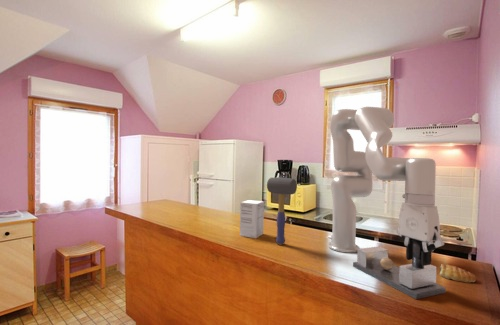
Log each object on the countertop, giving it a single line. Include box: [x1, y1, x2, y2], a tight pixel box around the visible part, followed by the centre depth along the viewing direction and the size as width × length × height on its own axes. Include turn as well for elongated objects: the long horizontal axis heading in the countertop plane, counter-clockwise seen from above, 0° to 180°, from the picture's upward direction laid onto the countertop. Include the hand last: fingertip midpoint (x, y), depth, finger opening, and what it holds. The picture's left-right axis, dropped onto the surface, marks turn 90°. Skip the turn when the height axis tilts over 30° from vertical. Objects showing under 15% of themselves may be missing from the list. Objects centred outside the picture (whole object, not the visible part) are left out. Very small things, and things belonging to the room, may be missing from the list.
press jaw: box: [399, 239, 437, 289], centre depth 78 cm, size 4×10×13 cm, turn 111°
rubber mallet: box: [266, 176, 298, 246], centre depth 119 cm, size 12×8×30 cm, turn 56°
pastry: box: [439, 263, 476, 283], centre depth 87 cm, size 9×7×4 cm
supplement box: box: [239, 199, 265, 239], centre depth 134 cm, size 10×9×17 cm
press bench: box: [352, 246, 447, 300], centre depth 86 cm, size 24×12×6 cm, turn 21°
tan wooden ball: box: [380, 257, 395, 270], centre depth 89 cm, size 4×4×4 cm
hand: (418, 261), depth 78 cm, fingers open, 4 cm apart
